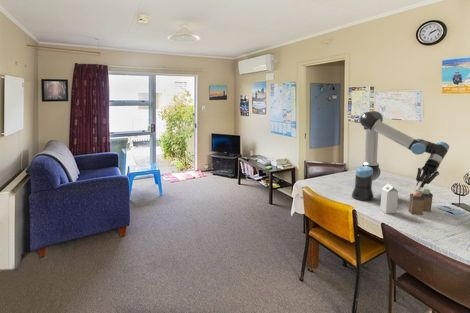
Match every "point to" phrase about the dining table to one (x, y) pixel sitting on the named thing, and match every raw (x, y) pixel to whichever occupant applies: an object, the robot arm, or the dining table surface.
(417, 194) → the terracotta button
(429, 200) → the rear pedestal
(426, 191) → the sage button
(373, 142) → the robot arm
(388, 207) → the milk carton
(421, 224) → the dining table surface
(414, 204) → the front pedestal
